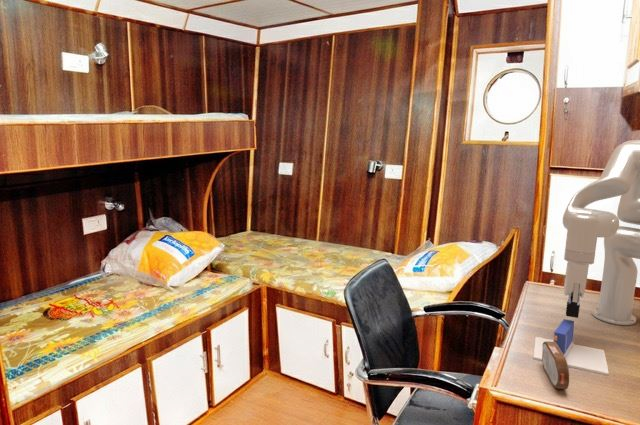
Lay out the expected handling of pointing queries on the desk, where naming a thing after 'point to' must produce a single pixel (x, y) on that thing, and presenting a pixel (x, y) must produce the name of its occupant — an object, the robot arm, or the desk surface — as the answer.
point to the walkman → (564, 336)
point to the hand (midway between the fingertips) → (571, 315)
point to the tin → (555, 365)
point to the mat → (578, 357)
